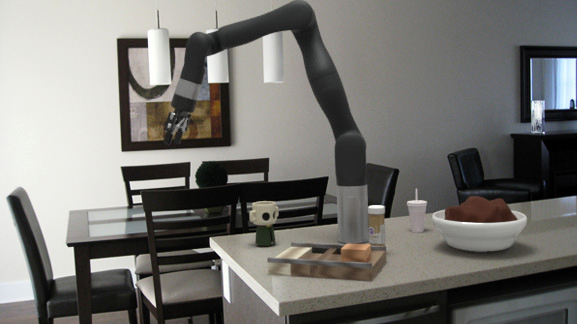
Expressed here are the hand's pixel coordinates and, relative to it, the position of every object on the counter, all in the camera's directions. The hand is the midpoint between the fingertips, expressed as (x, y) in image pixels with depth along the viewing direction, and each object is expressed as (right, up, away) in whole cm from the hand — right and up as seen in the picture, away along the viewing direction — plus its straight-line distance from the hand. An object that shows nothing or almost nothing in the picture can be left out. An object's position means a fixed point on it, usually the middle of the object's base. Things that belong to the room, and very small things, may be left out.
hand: (171, 144), depth 183 cm
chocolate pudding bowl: (+90, -30, -22) cm, 98 cm away
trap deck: (+47, -33, -36) cm, 68 cm away
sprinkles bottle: (+61, -31, -25) cm, 73 cm away
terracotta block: (+54, -30, -42) cm, 74 cm away
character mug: (+30, -31, -8) cm, 44 cm away
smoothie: (+79, -28, +3) cm, 84 cm away
